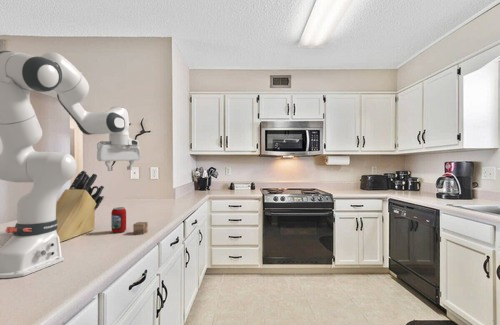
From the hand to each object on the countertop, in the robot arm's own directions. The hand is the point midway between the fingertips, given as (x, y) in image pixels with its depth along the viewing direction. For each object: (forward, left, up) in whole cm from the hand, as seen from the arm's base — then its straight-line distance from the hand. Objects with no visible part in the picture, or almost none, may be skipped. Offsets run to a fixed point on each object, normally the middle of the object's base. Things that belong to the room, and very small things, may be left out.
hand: (120, 170), depth 137 cm
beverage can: (+6, +4, -31) cm, 32 cm away
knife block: (+1, +24, -31) cm, 39 cm away
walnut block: (+4, -8, -31) cm, 33 cm away
